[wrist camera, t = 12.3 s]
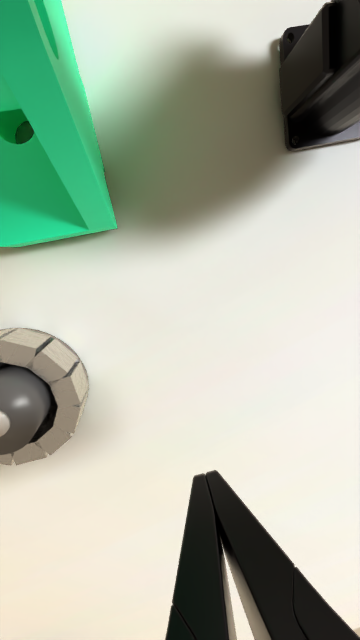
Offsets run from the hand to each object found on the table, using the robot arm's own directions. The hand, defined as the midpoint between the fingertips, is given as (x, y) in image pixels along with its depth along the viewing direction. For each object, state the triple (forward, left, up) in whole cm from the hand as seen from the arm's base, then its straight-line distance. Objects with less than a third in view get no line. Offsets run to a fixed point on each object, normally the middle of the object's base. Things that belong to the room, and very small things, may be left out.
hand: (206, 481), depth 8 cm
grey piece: (+12, 0, -12) cm, 17 cm away
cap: (+12, 0, -12) cm, 17 cm away
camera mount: (+6, -16, -12) cm, 21 cm away
